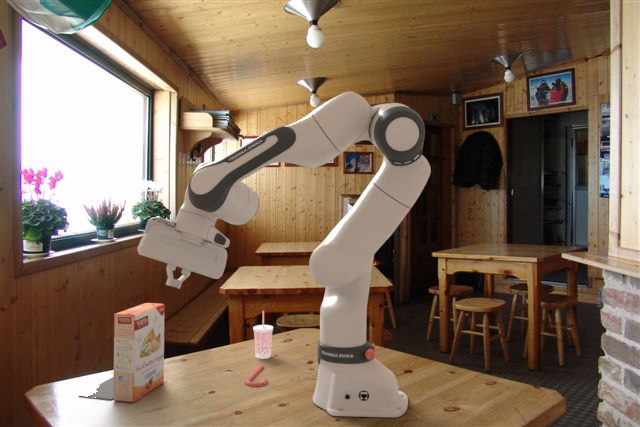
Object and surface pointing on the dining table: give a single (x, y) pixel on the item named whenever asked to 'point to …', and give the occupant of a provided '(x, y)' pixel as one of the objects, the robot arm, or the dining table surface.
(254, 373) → the candy cane
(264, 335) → the beverage cup
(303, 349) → the dining table surface
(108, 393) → the rubber mat
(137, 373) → the cracker box
